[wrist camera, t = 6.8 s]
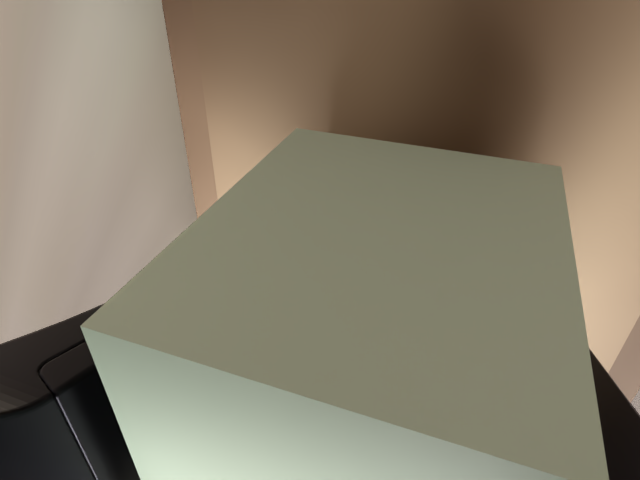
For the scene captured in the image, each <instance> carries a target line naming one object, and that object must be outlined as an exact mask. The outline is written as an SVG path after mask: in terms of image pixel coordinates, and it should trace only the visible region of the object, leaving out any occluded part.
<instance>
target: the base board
mask: <svg viewBox="0 0 640 480" xmlns="http://www.w3.org/2000/svg"><path fill="white" fill-rule="evenodd" d="M162 5H163V11H164V17H165V23H166V29H167V36H168V42H169V48H170V54H171V60H172V66H173V72H174V78H175V84H176V91H177V97H178V103H179V109H180V115H181V121H182V127H183V133H184V139H185V146H186V152H187V158H188V164H189V170H190V176H191V182H192V188H193V194H194V201H195V207H196V213H197V219H198V218H199V217H200V216H201V215H202V214H203V213H204V212H205V211H207V210H208V209H209V208H210V207H211V206H212V205H213V204H214V203H215V202H216V201H217V200H219V199H220V198H221V197H222V196H223V195H224V194H225V193H226V192H227V191H228V190H229V189H231V188H232V187H233V186H234V185H235V184H236V183H237V182H238V181H239V180H240V179H242V178H243V177H244V176H245V175H246V174H247V173H248V172H249V171H250V170H251V169H252V168H254V167H255V166H256V165H257V164H258V163H259V162H260V161H261V160H262V159H263V158H264V157H266V156H267V155H268V154H269V153H270V152H271V151H272V150H273V149H274V148H275V147H276V146H278V145H279V144H280V143H281V142H282V141H283V140H284V139H285V138H286V137H287V136H289V135H290V134H291V133H292V132H293V131H294V130H295V129H296V128H300V129H307V130H314V131H320V132H327V133H334V134H341V135H348V136H355V137H362V138H368V139H375V140H382V141H389V142H396V143H403V144H410V145H416V146H423V147H430V148H437V149H444V150H451V151H458V152H464V153H471V154H478V155H485V156H492V157H499V158H506V159H512V160H519V161H526V162H533V163H540V164H547V165H554V166H560V167H561V169H562V175H563V182H564V188H565V195H566V201H567V208H568V214H569V221H570V227H571V234H572V241H573V247H574V254H575V260H576V267H577V273H578V280H579V286H580V293H581V299H582V306H583V312H584V319H585V325H586V332H587V339H588V345H589V348H590V350H591V351H592V352H593V354H594V355H595V356H596V358H597V359H598V360H599V362H600V363H601V364H602V366H603V367H604V368H605V370H606V371H607V372H608V374H609V375H610V376H611V378H612V379H613V380H614V382H615V383H616V384H617V386H618V387H619V388H620V390H621V391H622V392H623V394H624V395H625V396H626V398H627V399H628V400H629V402H630V403H631V402H632V400H633V399H634V397H635V395H636V394H637V392H638V390H639V389H640V0H162Z"/></svg>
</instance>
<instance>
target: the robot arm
mask: <svg viewBox="0 0 640 480" xmlns="http://www.w3.org/2000/svg"><path fill="white" fill-rule="evenodd" d="M104 304H105V303H104ZM104 304H102V305H100V306H98V307H95V308H93V309H91V310H88V311H86V312H83V313H81V314H79V315H76V316H74V317H71V318H69V319H67V320H64V321H62V322H59V323H56V324H54V325H51V326H49V327H46V328H43V329H40V330H38V331H35V332H32V333H30V334H27V335H24V336H21V337H19V338H16V339H13V340H10V341H7V342H5V343H2V344H0V480H140V477H139V475H138V472H137V470H136V467H135V465H134V462H133V459H132V457H131V454H130V452H129V449H128V447H127V444H126V442H125V439H124V437H123V434H122V431H121V429H120V426H119V424H118V421H117V419H116V416H115V414H114V411H113V409H112V406H111V403H110V401H109V398H108V396H107V393H106V391H105V388H104V386H103V383H102V381H101V378H100V375H99V373H98V370H97V368H96V365H95V363H94V360H93V358H92V355H91V353H90V350H89V347H88V345H87V342H86V340H85V337H84V335H83V332H82V330H81V327H80V326H81V325H82V324H83V323H84V322H85V321H86V320H87V319H88V318H90V317H91V316H92V315H93V314H94V313H95V312H96V311H97V310H98V309H99V308H100V307H102V306H103V305H104ZM589 352H590V358H591V365H592V371H593V378H594V384H595V391H596V397H597V404H598V410H599V417H600V423H601V430H602V436H603V443H604V450H605V456H606V463H607V469H608V476H609V480H640V415H639V414H638V412H637V411H636V410H635V408H634V407H633V406H632V404H631V403H630V402H629V400H628V399H627V398H626V396H625V395H624V394H623V392H622V391H621V390H620V388H619V387H618V386H617V384H616V383H615V382H614V380H613V379H612V378H611V376H610V375H609V374H608V372H607V371H606V370H605V368H604V367H603V366H602V364H601V363H600V362H599V360H598V359H597V358H596V356H595V355H594V354H593V352H592V351H591V350H590V348H589Z"/></svg>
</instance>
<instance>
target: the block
mask: <svg viewBox="0 0 640 480" xmlns="http://www.w3.org/2000/svg"><path fill="white" fill-rule="evenodd" d="M80 327H81V330H82V332H83V335H84V337H85V340H86V342H87V345H88V347H89V350H90V353H91V355H92V358H93V360H94V363H95V365H96V368H97V370H98V373H99V375H100V378H101V381H102V383H103V386H104V388H105V391H106V393H107V396H108V398H109V401H110V403H111V406H112V409H113V411H114V414H115V416H116V419H117V421H118V424H119V426H120V429H121V431H122V434H123V437H124V439H125V442H126V444H127V447H128V449H129V452H130V454H131V457H132V459H133V462H134V465H135V467H136V470H137V472H138V475H139V477H140V480H609V476H608V469H607V463H606V456H605V450H604V443H603V436H602V430H601V423H600V417H599V410H598V404H597V397H596V391H595V384H594V378H593V371H592V365H591V358H590V352H589V345H588V339H587V332H586V325H585V319H584V312H583V306H582V299H581V293H580V286H579V280H578V273H577V267H576V260H575V254H574V247H573V241H572V234H571V227H570V221H569V214H568V208H567V201H566V195H565V188H564V182H563V175H562V169H561V167H560V166H554V165H547V164H540V163H533V162H526V161H519V160H512V159H506V158H499V157H492V156H485V155H478V154H471V153H464V152H458V151H451V150H444V149H437V148H430V147H423V146H416V145H410V144H403V143H396V142H389V141H382V140H375V139H368V138H362V137H355V136H348V135H341V134H334V133H327V132H320V131H314V130H307V129H300V128H296V129H295V130H294V131H293V132H292V133H291V134H290V135H289V136H287V137H286V138H285V139H284V140H283V141H282V142H281V143H280V144H279V145H278V146H276V147H275V148H274V149H273V150H272V151H271V152H270V153H269V154H268V155H267V156H266V157H264V158H263V159H262V160H261V161H260V162H259V163H258V164H257V165H256V166H255V167H254V168H252V169H251V170H250V171H249V172H248V173H247V174H246V175H245V176H244V177H243V178H242V179H240V180H239V181H238V182H237V183H236V184H235V185H234V186H233V187H232V188H231V189H229V190H228V191H227V192H226V193H225V194H224V195H223V196H222V197H221V198H220V199H219V200H217V201H216V202H215V203H214V204H213V205H212V206H211V207H210V208H209V209H208V210H207V211H205V212H204V213H203V214H202V215H201V216H200V217H199V218H198V219H197V220H196V221H194V222H193V223H192V224H191V225H190V226H189V227H188V228H187V229H186V230H185V231H184V232H182V233H181V234H180V235H179V236H178V237H177V238H176V239H175V240H174V241H173V242H172V243H170V244H169V245H168V246H167V247H166V248H165V249H164V250H163V251H162V252H161V253H159V254H158V255H157V256H156V257H155V258H154V259H153V260H152V261H151V262H150V263H149V264H147V265H146V266H145V267H144V268H143V269H142V270H141V271H140V272H139V273H138V274H137V275H135V276H134V277H133V278H132V279H131V280H130V281H129V282H128V283H127V284H126V285H125V286H123V287H122V288H121V289H120V290H119V291H118V292H117V293H116V294H115V295H114V296H112V297H111V298H110V299H109V300H108V301H107V302H106V303H105V304H104V305H103V306H102V307H100V308H99V309H98V310H97V311H96V312H95V313H94V314H93V315H92V316H91V317H90V318H88V319H87V320H86V321H85V322H84V323H83V324H82V325H81V326H80Z"/></svg>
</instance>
